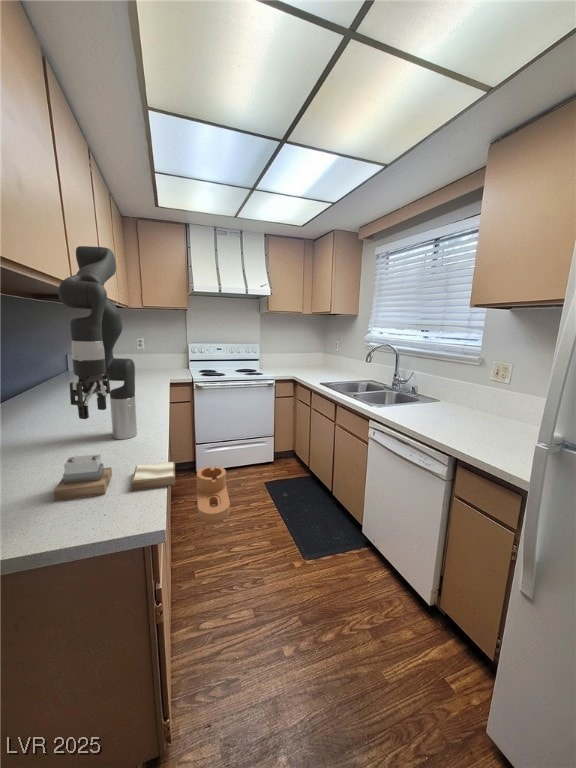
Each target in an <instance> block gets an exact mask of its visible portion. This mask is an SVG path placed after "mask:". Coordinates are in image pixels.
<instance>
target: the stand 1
mask: <svg viewBox="0 0 576 768" xmlns="http://www.w3.org/2000/svg"><path fill="white" fill-rule="evenodd" d="M112 477H113V472H112V466H110V467H104V474H103V476H102V478H101V480H99V481H91V482H82V483H73V484H65V485H64V480H63V477H62V478H61V480H60V481H59V482H58V484H57V485H56V486H55V489H54V490H53V496H54V501H56V502H57V501H64V500H70V499H79V498H87V497H93V496H102V495H103V496H104V495H106V493H107V490H108V487H109V485H110V482H111V479H112Z"/></svg>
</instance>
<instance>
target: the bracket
mask: <svg viewBox="0 0 576 768" xmlns="http://www.w3.org/2000/svg"><path fill="white" fill-rule="evenodd" d="M226 477H227V470H226V469H225V468H224V467H222V466H217V465H214V468H211V465H210V466H208V465H207V466H204V467H202V468H200V469H198V471H197V472H196V500H197V501H196V503H197V505H196V506H197V517H198V519H199V520H200V521H202V522H205V523H218V522H221V521H224V520H225V519H226V518H227V517H229V515H230V511H231V509H230V508H231V507H230V506H231V505H230V504H231V503H230V502H231V501H230V497H229V493H228V488H227V481H226V480H227V478H226ZM212 505H216V506H215V507H212Z"/></svg>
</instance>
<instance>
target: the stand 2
mask: <svg viewBox="0 0 576 768" xmlns="http://www.w3.org/2000/svg"><path fill="white" fill-rule="evenodd" d="M171 486H176V461H166V462H165V461H164V462H158V463H157V462H156V463H147V464H139V465H135V467H134V471H133V475H132V480H131V491H132V492H134V491H140V490H141V491H142V490H150V489H156V488H157V489H158V488H164V487H171Z"/></svg>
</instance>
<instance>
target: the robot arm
mask: <svg viewBox="0 0 576 768" xmlns="http://www.w3.org/2000/svg"><path fill="white" fill-rule="evenodd" d="M75 258H76V262H77V267H78V271H77V273H76V274H74V275H72V276H68V277H66V278H64V279H63V280H62V281H61V283H60V284H59V285H58V291H57V294H58V299H59V301H60V302H61V303H62V304H63V305H64V306H66V307H67V308H71V309H81V310H82V309H85V310H90V314H89V315H88V316H82V317H75V318H71V320H70V321H69V323H70V324H69V325H70V326H69V327H70V336H71V359H72V369H73V374H74V375H75V376H77V377H78V380H77V381H73V382H70V383H69V397H70V405H71V406H77V414H78V418H79V419H80V420H87V419H89V418H90V414H89V413H90V412H89V405H88V404H89V401H90V399H92V396H93V395H94V394H95V396H96V405H97V410H99V411H105V410H106V409H107V397H108V394H109V399H110V400H109V403H110V415H111V418H110V419H111V430H112V431H111V433H112V438H113V439H114V440H115V439H116V440H126V439H132V438H134V437H136V436H137V435H138V428H137V425H138V424H137V410H136V407H137V406H136V367H135V362H134V360H133V359H131V358H118V357H117V358H115V357H114V353H113V352H114V347H115V345H116V343H117V341H118V340H119V337H120V336H121V334H122V332H123V322H122V317H121V313H120V310H119V309H118V308H117V307H118V306H116V305H115V303H113V301H111V300H110V298H108V292H107V290H106V288H105V283H107V281H108V280H110V279H111V278H112V277H113V276H114V275H115V274H116V271H117V262H116V256H115V254H114V252H113V251H112V249H110V248H108V247H103V246H89V245H85V246H83V245H79V246H77V247H76V248H75ZM110 381H112V382H113V381H114V382H123V385H121V386H119V387H116V388H113V389H111V386H110V385H111V382H110ZM76 397H77V398H76Z"/></svg>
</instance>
